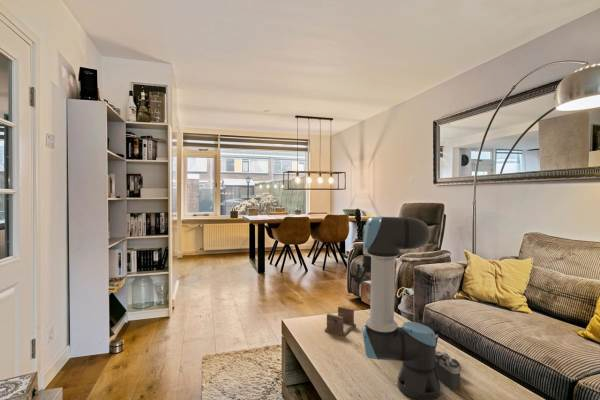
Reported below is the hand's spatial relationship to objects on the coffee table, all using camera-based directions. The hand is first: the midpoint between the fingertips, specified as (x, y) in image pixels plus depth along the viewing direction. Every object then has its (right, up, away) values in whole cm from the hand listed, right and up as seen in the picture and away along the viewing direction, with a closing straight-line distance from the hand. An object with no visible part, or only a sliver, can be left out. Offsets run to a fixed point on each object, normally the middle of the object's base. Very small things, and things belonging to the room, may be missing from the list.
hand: (370, 297), depth 165 cm
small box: (0, -3, 0) cm, 3 cm away
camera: (+23, -20, -38) cm, 49 cm away
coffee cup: (+22, -20, -18) cm, 35 cm away
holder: (-14, -19, +8) cm, 26 cm away
